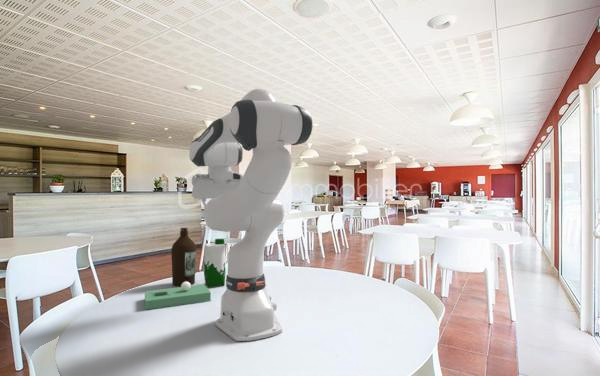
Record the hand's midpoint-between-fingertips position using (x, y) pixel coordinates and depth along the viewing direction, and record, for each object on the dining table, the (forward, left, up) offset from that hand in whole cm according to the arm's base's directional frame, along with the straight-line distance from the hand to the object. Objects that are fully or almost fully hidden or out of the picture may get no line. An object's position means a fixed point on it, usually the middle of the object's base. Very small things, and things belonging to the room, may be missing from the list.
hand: (218, 209), depth 126 cm
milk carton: (+18, -2, -34) cm, 38 cm away
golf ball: (+3, +12, -29) cm, 31 cm away
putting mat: (+3, +15, -34) cm, 37 cm away
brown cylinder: (+26, +10, -34) cm, 44 cm away
